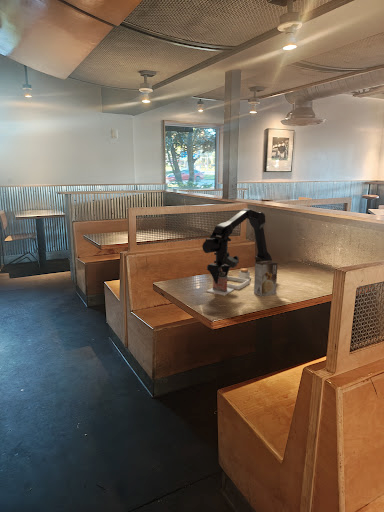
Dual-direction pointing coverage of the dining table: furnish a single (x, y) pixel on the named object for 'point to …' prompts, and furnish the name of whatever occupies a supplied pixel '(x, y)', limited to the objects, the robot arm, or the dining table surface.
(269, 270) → the coffee box
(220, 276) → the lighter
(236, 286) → the holder
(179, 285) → the dining table surface
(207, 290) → the mat
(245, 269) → the plunger
